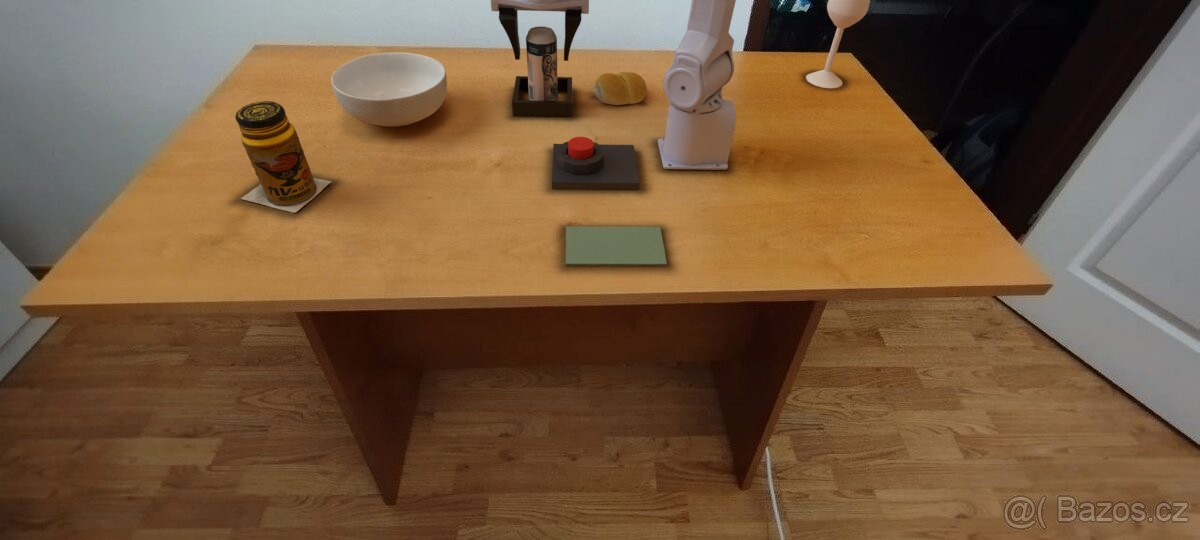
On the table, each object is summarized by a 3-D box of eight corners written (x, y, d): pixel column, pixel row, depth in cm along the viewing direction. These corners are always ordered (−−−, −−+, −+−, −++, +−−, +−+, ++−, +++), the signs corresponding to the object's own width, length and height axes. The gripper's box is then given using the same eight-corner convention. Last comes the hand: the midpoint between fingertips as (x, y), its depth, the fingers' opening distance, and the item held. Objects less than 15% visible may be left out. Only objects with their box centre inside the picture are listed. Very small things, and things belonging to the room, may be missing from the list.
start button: (593, 147, 83) (593, 136, 81) (593, 161, 80) (594, 150, 79) (568, 147, 82) (568, 136, 81) (568, 160, 80) (567, 149, 79)
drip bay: (572, 90, 101) (572, 76, 99) (572, 117, 94) (572, 103, 92) (516, 89, 100) (516, 75, 99) (512, 116, 93) (511, 102, 92)
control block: (633, 151, 87) (634, 133, 85) (638, 190, 80) (640, 171, 78) (553, 150, 86) (553, 132, 84) (551, 189, 79) (551, 170, 77)
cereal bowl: (415, 151, 85) (405, 107, 80) (319, 130, 88) (305, 86, 83) (470, 101, 97) (465, 60, 92) (384, 84, 100) (375, 43, 95)
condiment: (296, 213, 73) (261, 129, 65) (240, 200, 75) (200, 115, 67) (332, 182, 78) (304, 100, 70) (279, 170, 80) (246, 89, 72)
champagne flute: (847, 89, 106) (898, -58, 89) (810, 87, 105) (855, -60, 89) (836, 73, 110) (883, -69, 94) (801, 71, 110) (842, -71, 94)
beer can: (553, 111, 95) (552, 38, 87) (525, 107, 96) (521, 35, 88) (560, 98, 99) (560, 27, 90) (533, 94, 99) (530, 23, 91)
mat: (660, 229, 74) (660, 226, 73) (666, 266, 69) (667, 263, 68) (566, 228, 73) (566, 226, 73) (565, 266, 68) (565, 263, 68)
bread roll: (653, 103, 99) (655, 80, 96) (604, 109, 96) (605, 87, 94) (635, 82, 104) (636, 60, 102) (588, 88, 102) (588, 66, 99)
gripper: (589, -42, 86) (586, 48, 95) (491, -45, 85) (498, 46, 94) (590, -28, 81) (587, 66, 90) (485, -31, 80) (494, 64, 89)
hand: (541, 57), depth 92 cm, fingers open, 7 cm apart
